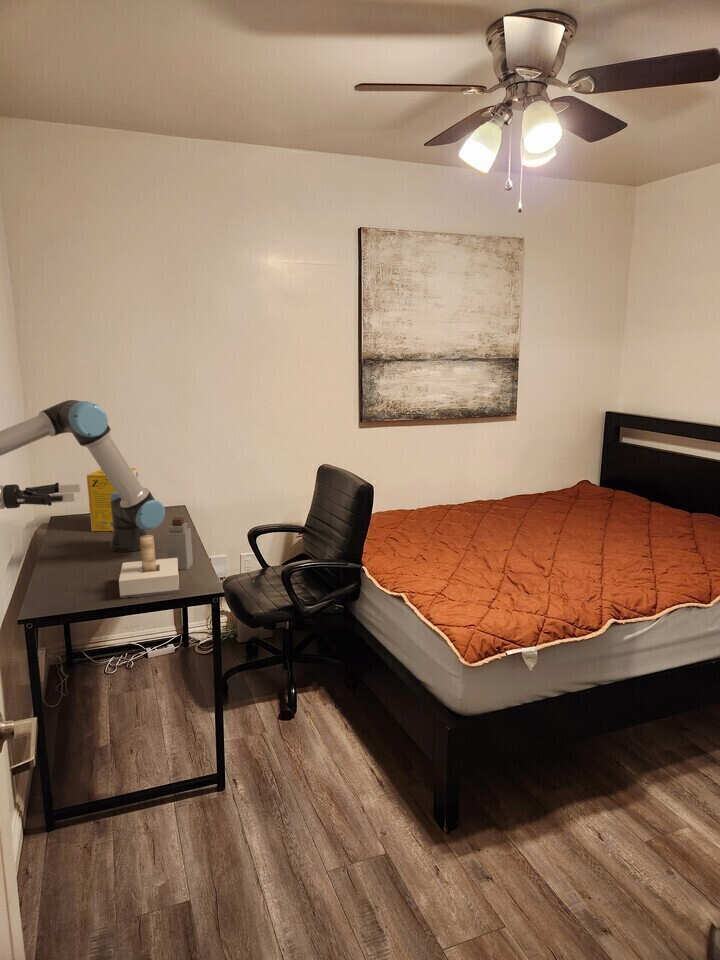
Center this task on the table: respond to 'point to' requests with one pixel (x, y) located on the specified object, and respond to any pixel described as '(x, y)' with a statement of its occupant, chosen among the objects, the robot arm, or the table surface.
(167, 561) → the socket block
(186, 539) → the perfume bottle
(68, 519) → the table surface
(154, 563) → the birch peg
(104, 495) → the packaging box
